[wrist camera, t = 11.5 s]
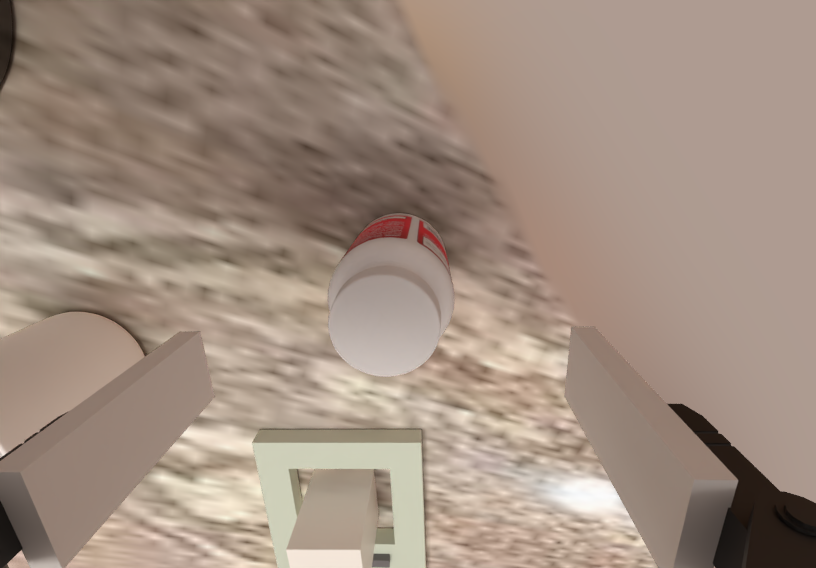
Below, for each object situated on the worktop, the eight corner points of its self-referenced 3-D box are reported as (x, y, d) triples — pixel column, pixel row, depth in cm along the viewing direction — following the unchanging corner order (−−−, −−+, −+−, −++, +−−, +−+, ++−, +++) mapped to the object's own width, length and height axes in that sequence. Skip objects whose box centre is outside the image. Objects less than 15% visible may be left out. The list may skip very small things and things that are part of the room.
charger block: (314, 469, 33) (284, 554, 26) (373, 468, 33) (359, 554, 26) (322, 514, 35) (296, 605, 28) (378, 514, 34) (366, 606, 27)
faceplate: (259, 429, 32) (248, 448, 30) (421, 429, 31) (421, 448, 29) (298, 627, 40) (291, 652, 38) (428, 630, 39) (428, 656, 37)
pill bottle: (342, 280, 27) (290, 362, 17) (373, 196, 25) (336, 231, 15) (425, 312, 28) (424, 412, 17) (461, 233, 26) (485, 291, 15)
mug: (120, 451, 33) (-14, 584, 23) (17, 335, 30) (-191, 431, 20) (201, 415, 32) (95, 541, 22) (101, 288, 28) (-78, 367, 18)
